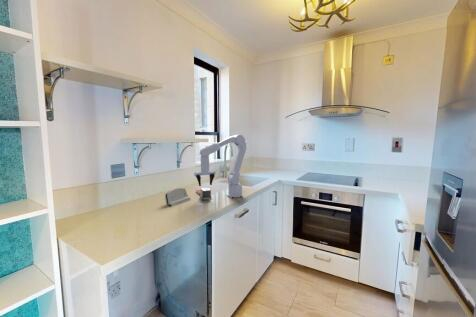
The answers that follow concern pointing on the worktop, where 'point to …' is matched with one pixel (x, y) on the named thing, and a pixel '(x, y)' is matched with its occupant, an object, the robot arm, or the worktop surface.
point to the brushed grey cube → (205, 192)
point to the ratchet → (201, 196)
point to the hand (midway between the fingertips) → (205, 185)
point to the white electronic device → (176, 196)
